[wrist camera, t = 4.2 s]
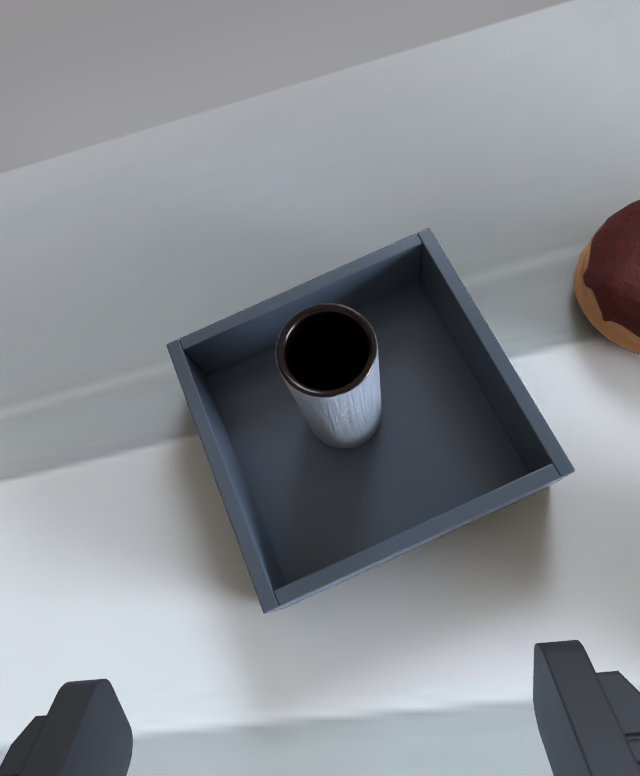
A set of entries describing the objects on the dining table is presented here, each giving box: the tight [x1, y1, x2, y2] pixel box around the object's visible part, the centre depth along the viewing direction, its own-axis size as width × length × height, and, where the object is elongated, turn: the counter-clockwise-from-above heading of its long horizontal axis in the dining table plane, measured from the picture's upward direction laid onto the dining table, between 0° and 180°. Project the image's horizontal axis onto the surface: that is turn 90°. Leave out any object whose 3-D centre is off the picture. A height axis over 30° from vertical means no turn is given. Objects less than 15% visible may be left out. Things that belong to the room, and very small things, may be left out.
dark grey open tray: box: [167, 228, 575, 613], centre depth 32 cm, size 17×16×5 cm
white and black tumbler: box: [276, 303, 382, 449], centre depth 30 cm, size 4×4×10 cm
